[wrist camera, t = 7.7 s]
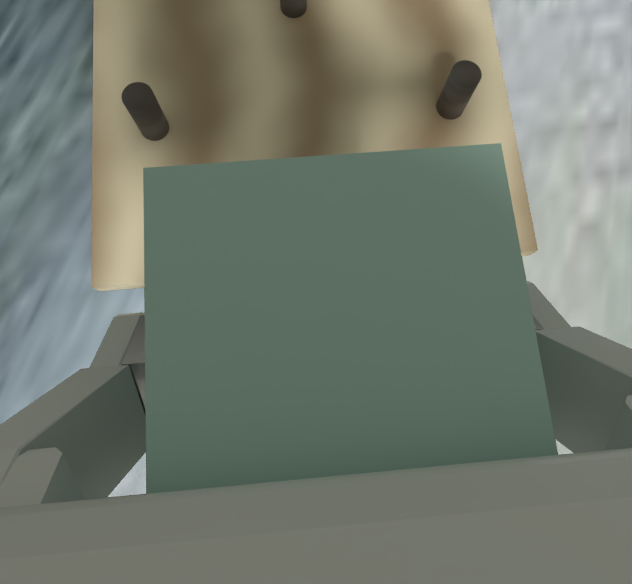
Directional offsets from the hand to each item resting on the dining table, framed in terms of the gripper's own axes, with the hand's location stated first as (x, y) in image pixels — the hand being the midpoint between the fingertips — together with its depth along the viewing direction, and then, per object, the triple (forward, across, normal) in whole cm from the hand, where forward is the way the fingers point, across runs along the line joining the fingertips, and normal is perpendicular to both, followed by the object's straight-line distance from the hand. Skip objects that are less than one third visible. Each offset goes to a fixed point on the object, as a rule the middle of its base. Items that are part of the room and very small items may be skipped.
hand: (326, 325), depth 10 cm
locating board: (+22, -1, +2) cm, 22 cm away
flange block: (+3, 0, +4) cm, 4 cm away
